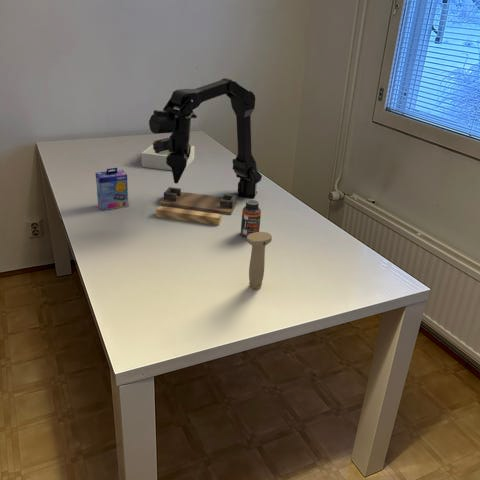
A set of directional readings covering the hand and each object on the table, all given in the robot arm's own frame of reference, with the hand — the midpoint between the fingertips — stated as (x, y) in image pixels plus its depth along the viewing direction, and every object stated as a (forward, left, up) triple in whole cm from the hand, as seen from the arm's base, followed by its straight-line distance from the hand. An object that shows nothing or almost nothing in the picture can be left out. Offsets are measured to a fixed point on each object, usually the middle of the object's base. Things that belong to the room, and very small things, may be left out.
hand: (177, 179), depth 162 cm
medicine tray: (+21, -51, -13) cm, 57 cm away
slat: (-4, +2, -14) cm, 14 cm away
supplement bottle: (-26, +7, -13) cm, 30 cm away
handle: (-33, +37, -13) cm, 51 cm away
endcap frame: (-4, -12, -13) cm, 19 cm away
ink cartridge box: (+24, 0, -13) cm, 27 cm away
